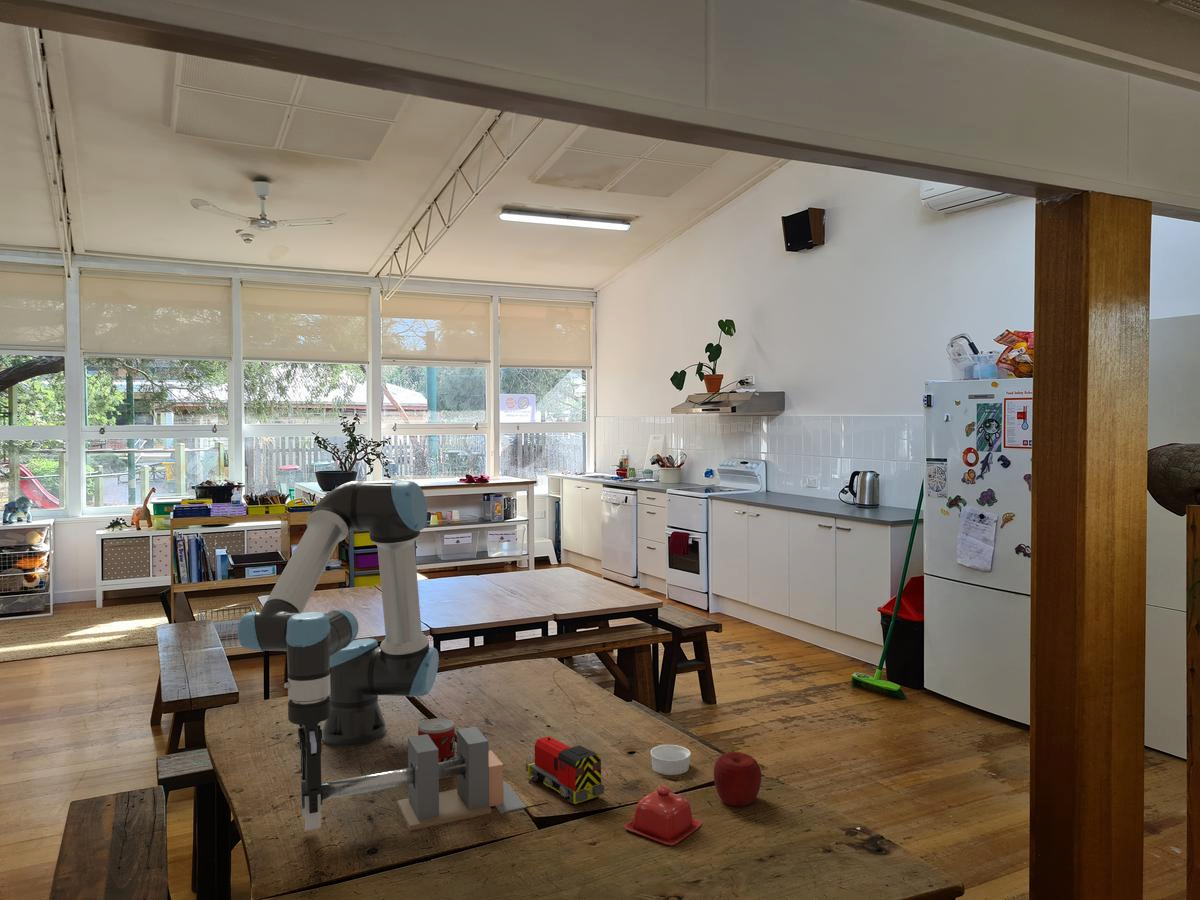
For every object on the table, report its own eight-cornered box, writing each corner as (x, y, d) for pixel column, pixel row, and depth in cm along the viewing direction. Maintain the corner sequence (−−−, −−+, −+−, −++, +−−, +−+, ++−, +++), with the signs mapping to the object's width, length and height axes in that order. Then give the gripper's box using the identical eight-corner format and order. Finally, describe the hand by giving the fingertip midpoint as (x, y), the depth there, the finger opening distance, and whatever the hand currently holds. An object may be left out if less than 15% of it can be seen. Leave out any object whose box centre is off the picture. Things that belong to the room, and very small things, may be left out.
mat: (479, 787, 176) (479, 784, 176) (524, 778, 181) (524, 775, 181) (500, 814, 164) (500, 811, 164) (547, 804, 168) (547, 802, 168)
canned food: (447, 782, 179) (446, 731, 179) (412, 779, 181) (411, 729, 180) (460, 768, 187) (459, 719, 186) (426, 765, 188) (426, 717, 188)
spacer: (477, 791, 173) (477, 752, 173) (491, 788, 174) (491, 750, 174) (489, 806, 166) (488, 767, 166) (503, 803, 167) (503, 764, 167)
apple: (732, 819, 161) (732, 768, 161) (703, 799, 170) (703, 751, 169) (771, 808, 166) (771, 758, 165) (741, 790, 174) (741, 742, 174)
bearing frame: (409, 831, 157) (408, 757, 157) (397, 805, 168) (396, 736, 168) (491, 814, 164) (490, 743, 164) (474, 790, 175) (473, 724, 174)
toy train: (577, 812, 165) (577, 762, 165) (525, 780, 180) (525, 734, 180) (605, 802, 169) (604, 753, 169) (551, 772, 184) (551, 727, 184)
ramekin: (698, 770, 184) (698, 751, 184) (674, 783, 178) (674, 763, 178) (667, 760, 190) (667, 741, 190) (642, 772, 184) (642, 752, 184)
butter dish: (705, 828, 158) (705, 784, 158) (672, 853, 149) (672, 806, 149) (655, 812, 165) (655, 769, 165) (620, 834, 156) (620, 789, 156)
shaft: (302, 813, 153) (302, 787, 153) (300, 802, 157) (299, 777, 157) (469, 782, 166) (468, 758, 166) (462, 773, 170) (462, 749, 170)
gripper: (284, 687, 162) (286, 806, 162) (291, 715, 145) (294, 847, 146) (324, 682, 165) (326, 798, 165) (336, 709, 148) (338, 838, 149)
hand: (311, 821), depth 156 cm, fingers closed on shaft, 5 cm apart
